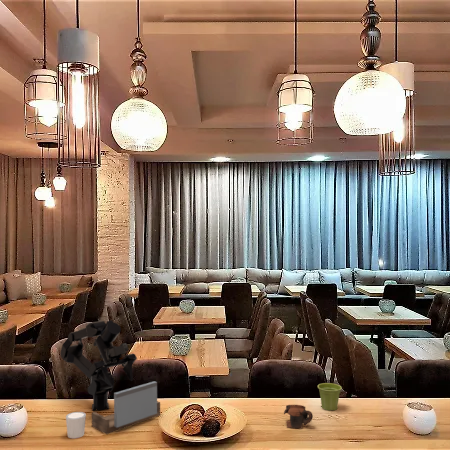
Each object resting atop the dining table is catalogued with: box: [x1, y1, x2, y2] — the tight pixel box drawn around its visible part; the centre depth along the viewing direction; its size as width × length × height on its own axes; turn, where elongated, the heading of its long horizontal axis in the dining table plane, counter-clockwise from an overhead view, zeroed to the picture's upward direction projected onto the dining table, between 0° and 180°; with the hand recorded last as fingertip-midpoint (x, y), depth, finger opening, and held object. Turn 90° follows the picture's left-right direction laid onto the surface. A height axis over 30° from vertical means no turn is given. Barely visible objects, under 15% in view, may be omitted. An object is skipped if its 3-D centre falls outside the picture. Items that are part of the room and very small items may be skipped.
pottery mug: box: [283, 404, 314, 429], centre depth 183 cm, size 12×10×8 cm
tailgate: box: [113, 381, 158, 428], centre depth 183 cm, size 2×18×12 cm, turn 136°
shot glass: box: [65, 411, 87, 439], centre depth 175 cm, size 7×7×7 cm
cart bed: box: [91, 400, 161, 435], centre depth 187 cm, size 10×24×5 cm, turn 135°
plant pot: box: [317, 382, 343, 411], centre depth 199 cm, size 9×9×9 cm
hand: (122, 383), depth 189 cm, fingers open, 9 cm apart
